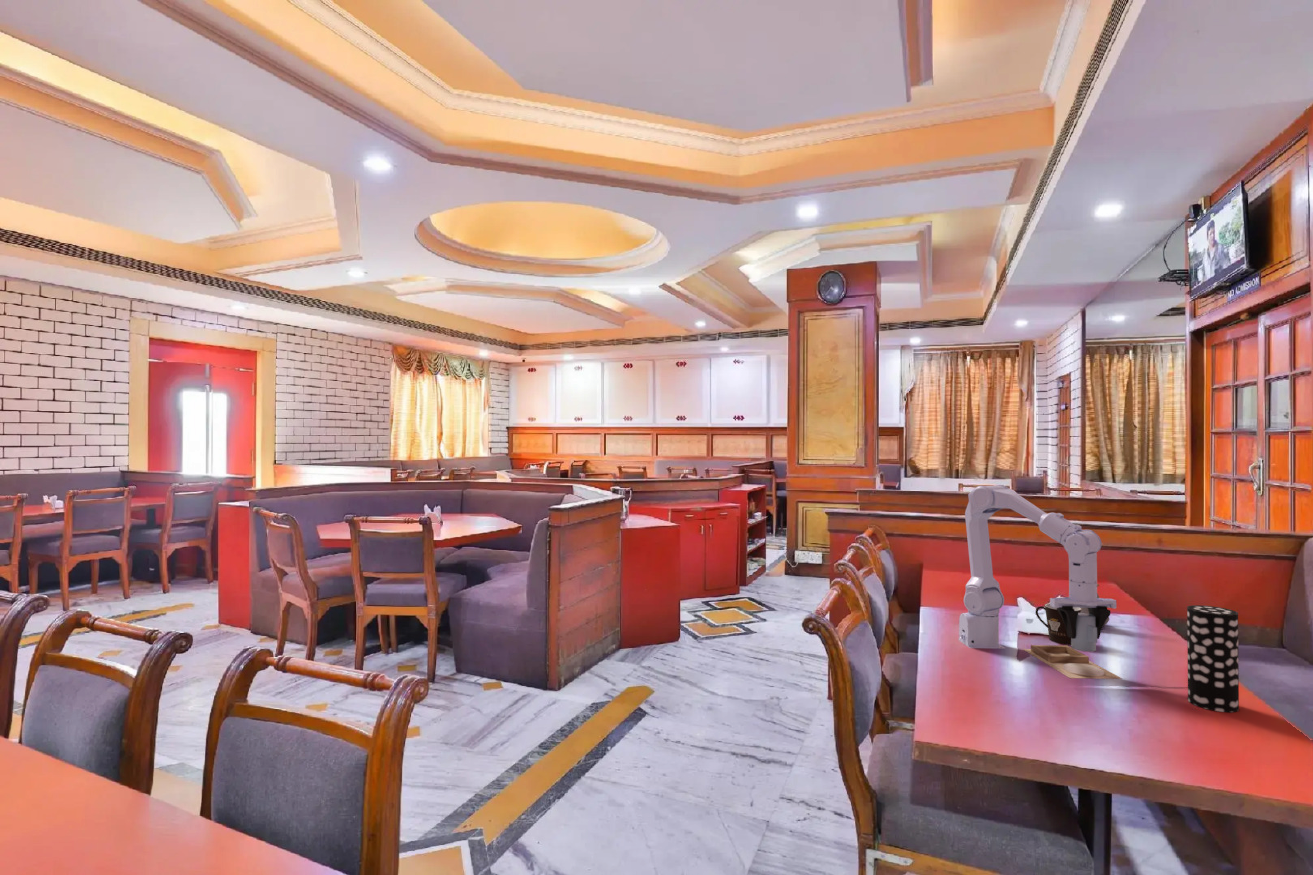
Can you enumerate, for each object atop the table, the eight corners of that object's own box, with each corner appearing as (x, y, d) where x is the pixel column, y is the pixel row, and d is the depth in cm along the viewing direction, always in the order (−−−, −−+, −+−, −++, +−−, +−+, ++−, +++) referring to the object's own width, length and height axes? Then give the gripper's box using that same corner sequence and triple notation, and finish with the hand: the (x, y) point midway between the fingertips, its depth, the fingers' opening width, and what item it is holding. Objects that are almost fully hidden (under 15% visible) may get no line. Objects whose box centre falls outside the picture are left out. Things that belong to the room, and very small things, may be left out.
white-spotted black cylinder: (1230, 700, 144) (1230, 607, 144) (1245, 715, 136) (1244, 616, 136) (1182, 694, 147) (1182, 603, 147) (1194, 708, 140) (1193, 612, 140)
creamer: (1066, 645, 163) (1066, 612, 163) (1087, 645, 163) (1087, 612, 163) (1084, 654, 156) (1083, 619, 156) (1106, 654, 156) (1105, 619, 156)
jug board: (1069, 680, 156) (1069, 670, 156) (1022, 651, 178) (1022, 642, 178) (1122, 681, 156) (1122, 671, 156) (1068, 651, 177) (1068, 643, 178)
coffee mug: (1088, 647, 181) (1088, 610, 181) (1056, 647, 181) (1055, 610, 181) (1063, 635, 193) (1062, 600, 193) (1032, 635, 193) (1032, 600, 193)
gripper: (1061, 584, 157) (1061, 642, 157) (1124, 584, 157) (1125, 642, 157) (1045, 578, 164) (1045, 633, 164) (1105, 578, 164) (1106, 634, 164)
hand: (1083, 637), depth 161 cm, fingers closed on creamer, 5 cm apart
